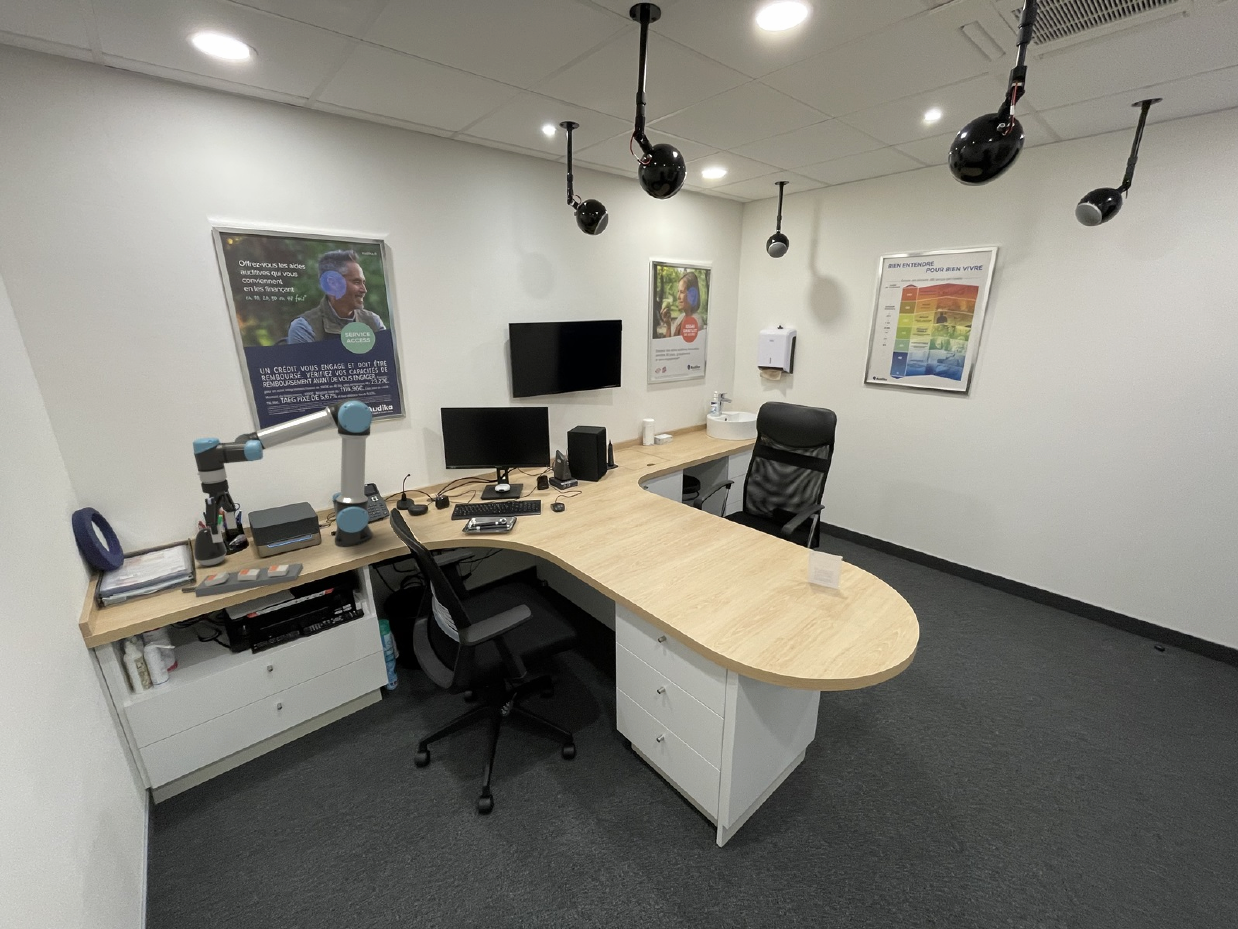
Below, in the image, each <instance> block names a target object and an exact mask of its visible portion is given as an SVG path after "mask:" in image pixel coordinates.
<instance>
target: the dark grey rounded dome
mask: <svg viewBox="0 0 1238 929" xmlns="http://www.w3.org/2000/svg"><path fill="white" fill-rule="evenodd" d="M227 551H228V550H227V547H226V545H225V543H224V541H223V542H216V543H213V540H212V535H211V531H210V527H205V528H202V529H200V530H198V532H197V533H196V536H195V538H194V546H193V556H194V560H195V561H196V562H197V564H198V565H202V566H209V567H210V566H211V567H212V566H215V565H217V564H220V563H222V562H223V561H224V559H225V558H226V555H227Z"/></svg>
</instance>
